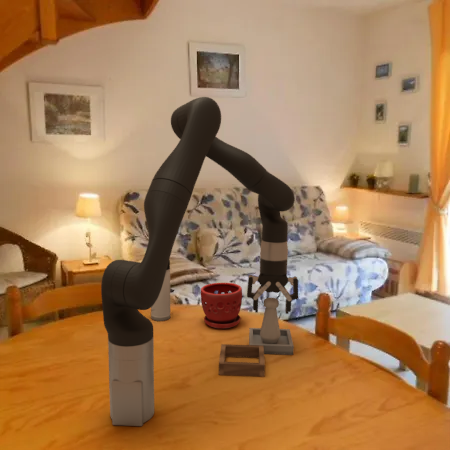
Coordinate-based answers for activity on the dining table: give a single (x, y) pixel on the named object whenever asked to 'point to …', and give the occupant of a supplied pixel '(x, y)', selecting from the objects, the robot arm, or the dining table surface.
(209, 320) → the plant pot
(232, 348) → the rectangular frame
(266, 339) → the salt shaker
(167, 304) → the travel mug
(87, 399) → the dining table surface
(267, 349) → the tray
